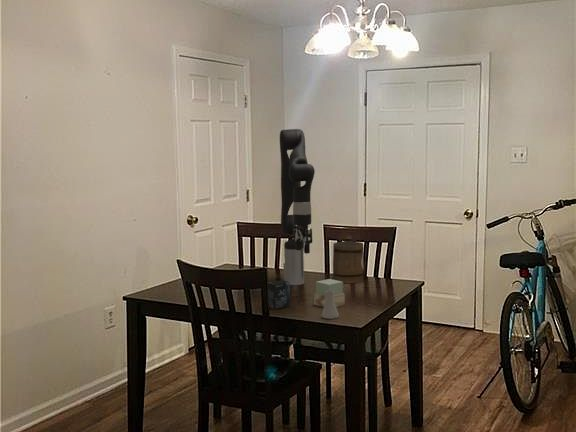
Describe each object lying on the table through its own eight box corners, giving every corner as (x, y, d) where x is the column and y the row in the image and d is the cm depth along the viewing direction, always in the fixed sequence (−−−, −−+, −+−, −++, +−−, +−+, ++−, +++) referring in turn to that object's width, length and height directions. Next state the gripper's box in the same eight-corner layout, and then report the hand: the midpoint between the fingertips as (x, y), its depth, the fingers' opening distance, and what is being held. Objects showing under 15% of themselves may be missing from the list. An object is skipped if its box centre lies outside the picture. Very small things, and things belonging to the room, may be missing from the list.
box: (274, 309, 265) (274, 284, 264) (267, 307, 270) (267, 282, 268) (290, 306, 269) (290, 281, 268) (283, 304, 274) (282, 279, 273)
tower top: (315, 293, 272) (315, 281, 271) (329, 290, 277) (329, 278, 276) (328, 296, 266) (328, 284, 265) (343, 293, 271) (342, 281, 270)
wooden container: (369, 281, 315) (369, 236, 313) (345, 285, 308) (345, 239, 305) (350, 275, 328) (350, 232, 325) (327, 279, 320) (326, 235, 317)
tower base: (314, 305, 273) (314, 293, 272) (330, 301, 278) (330, 290, 278) (328, 309, 266) (328, 297, 265) (344, 305, 271) (344, 293, 270)
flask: (319, 314, 257) (319, 289, 256) (337, 314, 257) (337, 289, 256) (322, 319, 250) (321, 294, 248) (340, 319, 250) (340, 293, 249)
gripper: (287, 211, 272) (287, 250, 274) (300, 215, 259) (301, 255, 261) (303, 210, 275) (303, 248, 277) (317, 213, 262) (318, 253, 264)
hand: (302, 251), depth 269 cm, fingers open, 8 cm apart
